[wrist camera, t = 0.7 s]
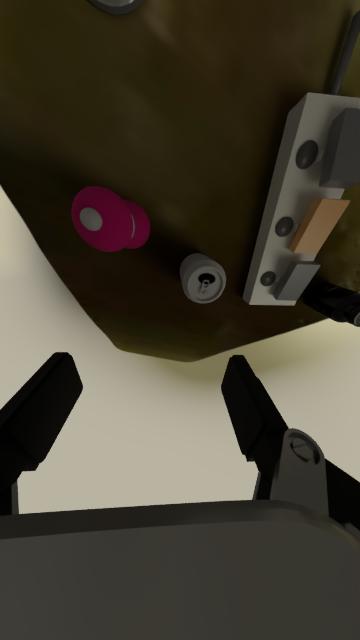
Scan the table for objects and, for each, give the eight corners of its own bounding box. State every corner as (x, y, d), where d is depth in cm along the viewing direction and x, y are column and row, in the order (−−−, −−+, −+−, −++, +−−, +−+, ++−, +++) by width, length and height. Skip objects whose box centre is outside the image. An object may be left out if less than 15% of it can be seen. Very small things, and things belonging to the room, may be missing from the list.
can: (215, 255, 34) (235, 265, 24) (207, 288, 38) (222, 309, 27) (182, 250, 33) (187, 258, 23) (177, 284, 37) (179, 304, 26)
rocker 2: (314, 197, 25) (322, 198, 24) (341, 199, 25) (350, 200, 24) (288, 249, 30) (293, 252, 29) (310, 250, 31) (316, 253, 29)
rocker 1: (332, 120, 22) (346, 107, 21) (362, 123, 23) (378, 110, 21) (318, 187, 24) (329, 180, 23) (345, 189, 25) (359, 182, 23)
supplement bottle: (323, 275, 38) (382, 292, 27) (335, 292, 40) (393, 313, 30) (298, 296, 40) (343, 319, 30) (310, 311, 43) (356, 337, 32)
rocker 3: (291, 260, 30) (297, 264, 28) (314, 261, 30) (321, 265, 29) (272, 295, 35) (276, 300, 34) (291, 295, 35) (296, 300, 34)
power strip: (311, 20, 21) (345, -31, 17) (387, 31, 21) (437, -16, 17) (242, 298, 40) (250, 305, 35) (283, 298, 40) (296, 306, 36)
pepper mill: (128, 253, 33) (82, 275, 16) (107, 215, 30) (18, 191, 12) (159, 237, 32) (145, 242, 14) (140, 196, 29) (93, 139, 11)
